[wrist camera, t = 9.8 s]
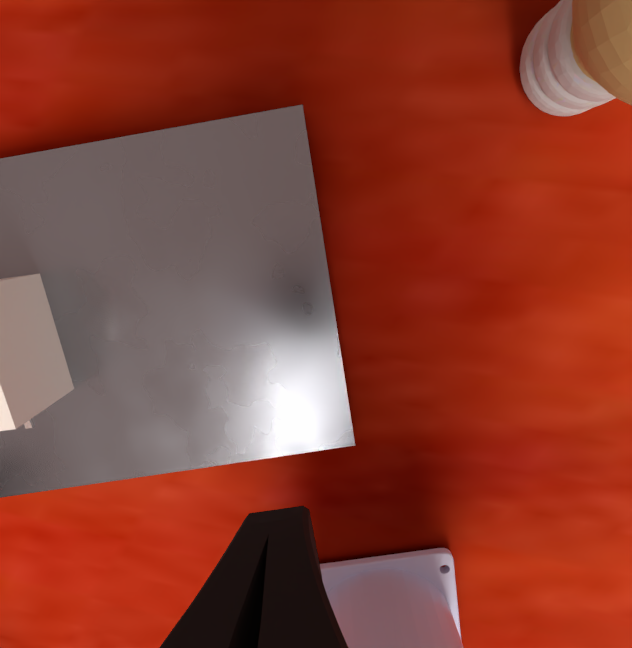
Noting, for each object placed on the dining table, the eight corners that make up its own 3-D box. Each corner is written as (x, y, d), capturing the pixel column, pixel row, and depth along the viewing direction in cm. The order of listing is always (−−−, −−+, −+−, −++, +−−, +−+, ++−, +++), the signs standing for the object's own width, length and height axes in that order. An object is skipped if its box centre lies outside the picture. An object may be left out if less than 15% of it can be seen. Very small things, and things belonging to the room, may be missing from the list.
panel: (352, 431, 19) (363, 491, 15) (-10, 485, 20) (-98, 557, 16) (303, 112, 16) (298, 72, 12) (-131, 190, 17) (-286, 179, 12)
